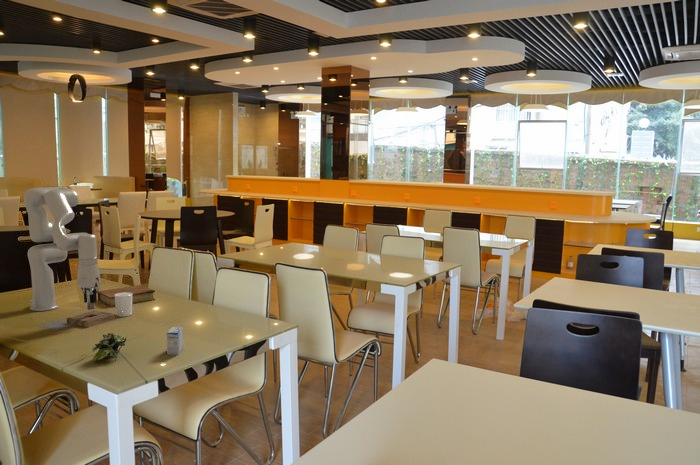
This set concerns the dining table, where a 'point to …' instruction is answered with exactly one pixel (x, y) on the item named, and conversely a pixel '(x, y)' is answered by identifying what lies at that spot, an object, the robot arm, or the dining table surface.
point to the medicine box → (174, 340)
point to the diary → (138, 292)
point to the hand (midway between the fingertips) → (90, 301)
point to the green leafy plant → (108, 346)
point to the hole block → (90, 318)
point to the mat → (56, 325)
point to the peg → (89, 305)
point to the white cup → (123, 304)
